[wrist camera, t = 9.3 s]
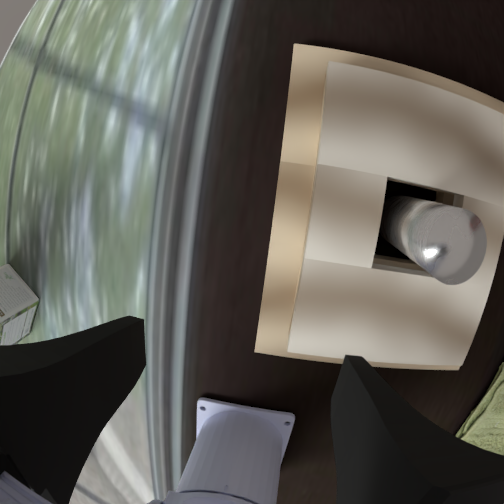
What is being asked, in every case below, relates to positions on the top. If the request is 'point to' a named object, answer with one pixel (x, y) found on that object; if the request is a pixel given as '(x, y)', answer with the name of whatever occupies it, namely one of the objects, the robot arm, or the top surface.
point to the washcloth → (487, 419)
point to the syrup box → (15, 307)
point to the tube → (435, 237)
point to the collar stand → (376, 212)
